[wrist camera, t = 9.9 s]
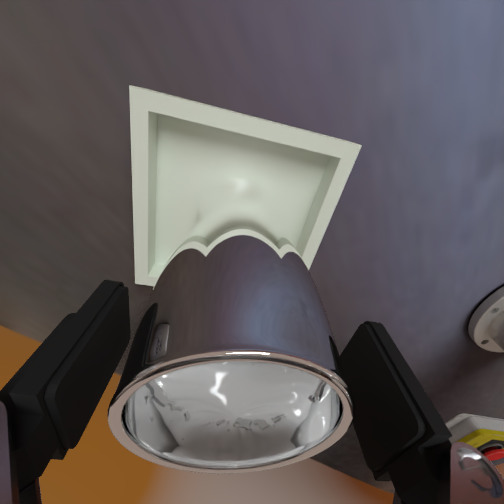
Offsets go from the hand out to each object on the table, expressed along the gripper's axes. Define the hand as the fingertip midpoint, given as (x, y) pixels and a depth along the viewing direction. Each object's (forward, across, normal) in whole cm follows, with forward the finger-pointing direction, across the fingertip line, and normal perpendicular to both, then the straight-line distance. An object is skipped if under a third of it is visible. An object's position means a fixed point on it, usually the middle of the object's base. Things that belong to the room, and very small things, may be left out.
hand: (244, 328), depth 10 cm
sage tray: (+12, +1, 0) cm, 12 cm away
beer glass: (+12, +1, 0) cm, 12 cm away
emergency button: (+14, -50, +33) cm, 62 cm away
